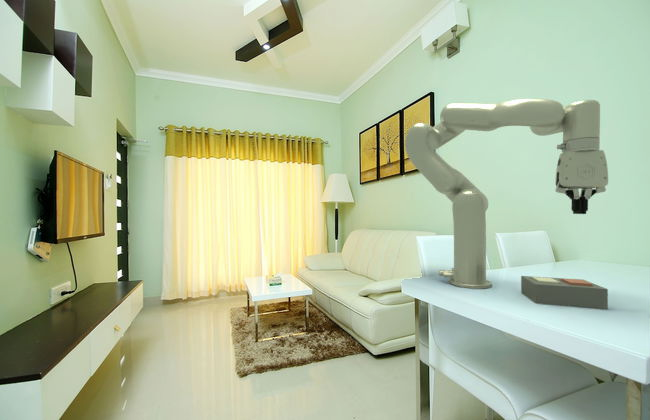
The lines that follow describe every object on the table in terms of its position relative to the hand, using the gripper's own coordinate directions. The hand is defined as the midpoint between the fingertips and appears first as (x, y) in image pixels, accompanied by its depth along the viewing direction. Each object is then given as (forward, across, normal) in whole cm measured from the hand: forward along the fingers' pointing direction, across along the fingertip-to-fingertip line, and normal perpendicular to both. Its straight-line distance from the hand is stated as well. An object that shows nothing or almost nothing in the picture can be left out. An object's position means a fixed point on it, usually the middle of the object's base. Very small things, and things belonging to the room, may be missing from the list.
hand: (579, 213), depth 77 cm
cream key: (+21, -9, -4) cm, 23 cm away
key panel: (+24, -5, -4) cm, 24 cm away
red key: (+21, -2, -4) cm, 22 cm away
